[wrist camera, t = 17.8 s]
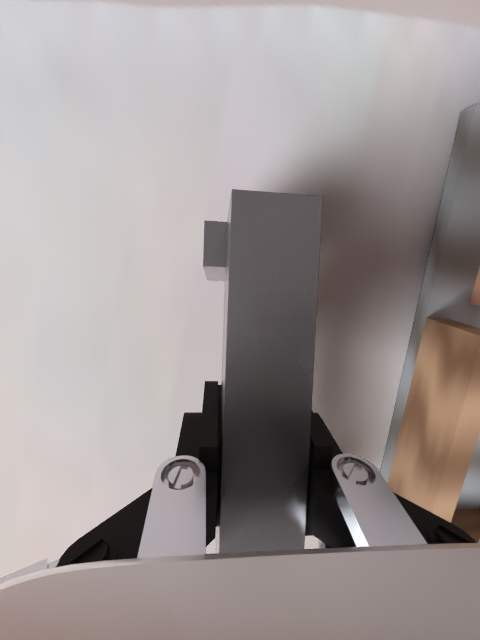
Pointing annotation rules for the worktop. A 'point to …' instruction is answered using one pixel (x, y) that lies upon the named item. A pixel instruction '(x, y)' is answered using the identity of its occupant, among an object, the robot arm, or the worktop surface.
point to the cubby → (445, 357)
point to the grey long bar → (266, 364)
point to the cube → (476, 291)
